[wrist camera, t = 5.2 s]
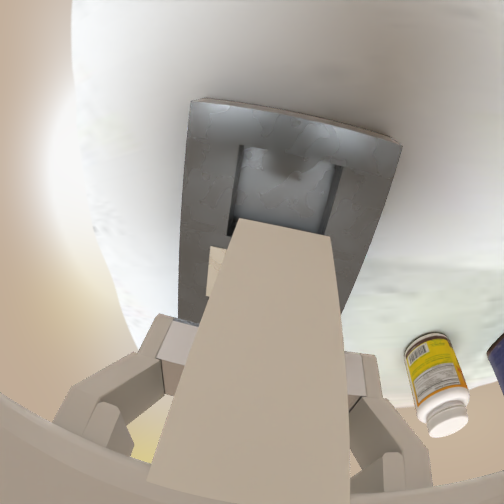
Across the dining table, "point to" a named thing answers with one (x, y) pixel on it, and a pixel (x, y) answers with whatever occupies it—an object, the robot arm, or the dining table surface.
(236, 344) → the plug
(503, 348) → the flask
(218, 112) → the panel
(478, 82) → the dining table surface
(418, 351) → the supplement bottle
